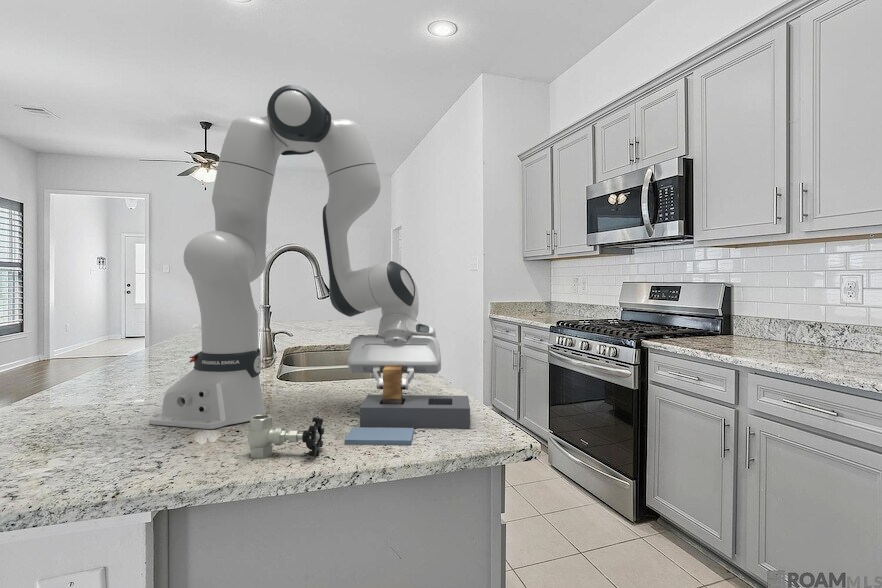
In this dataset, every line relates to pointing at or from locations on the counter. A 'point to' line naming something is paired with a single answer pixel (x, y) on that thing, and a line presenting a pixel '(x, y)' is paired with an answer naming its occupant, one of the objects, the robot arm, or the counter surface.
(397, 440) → the pad
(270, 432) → the valve
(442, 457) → the counter surface
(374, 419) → the holder
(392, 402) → the plug
